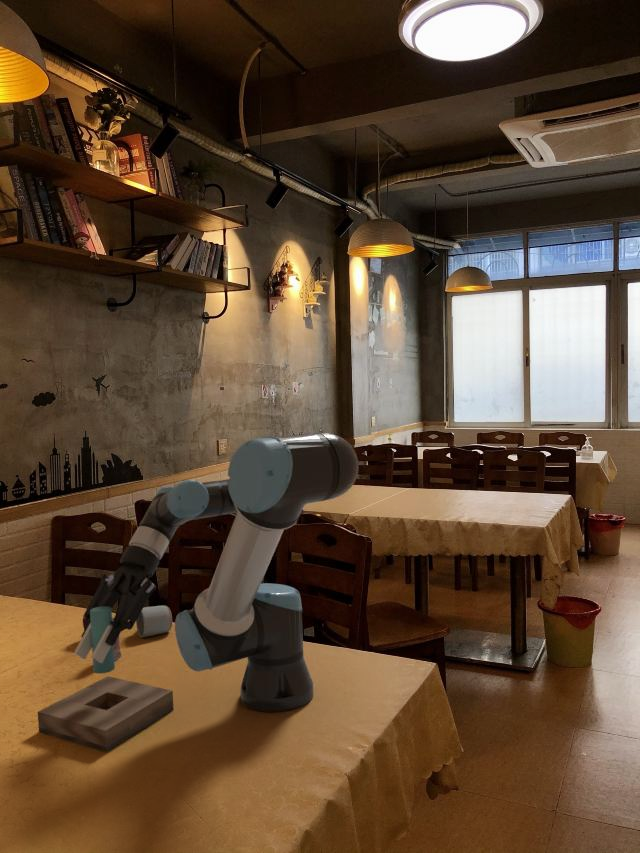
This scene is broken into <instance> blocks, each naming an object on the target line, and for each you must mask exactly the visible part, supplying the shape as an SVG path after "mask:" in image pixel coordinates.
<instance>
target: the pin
mask: <svg viewBox="0 0 640 853" xmlns="http://www.w3.org/2000/svg"><path fill="white" fill-rule="evenodd" d="M112 613H113V612H112V609H111V607H108V606H101V607H96V608H93V609H91V610H90V619H91V636H92V647H91V651H92V652H91V653H92V654H93V652H94V650H95V648H96V647H97V645H98V643H99V641H100V639H101V637H102V635H103V633H104V632H105V630H106V628H107V626H108V625H111V626H112V624H110V621H112V617H113V616H112ZM115 663H116V662H115ZM115 663H114V646H111V647H110V649H109V651H108V653H107V655H106V657H105V659H104V661H103V663H99V662H98V661H96V660H95V659H94V658H92V665H93V666H92V668H93V673H95V674H106V673H111V672H112V671H113V670H115V667H116V666H115V665H116V664H115Z"/></svg>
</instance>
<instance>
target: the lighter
mask: <svg viewBox="0 0 640 853" xmlns="http://www.w3.org/2000/svg"><path fill="white" fill-rule="evenodd" d="M114 618H115V616H112V621H113V620H114ZM112 627H113V625H112ZM113 646H114V662H115V663H116V662H118V661H119V660H120V658H122V652H121V647H120V646H121V645H120V635H119V636H118V638H117V640H116V642H115V644H114V645H113Z"/></svg>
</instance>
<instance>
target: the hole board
mask: <svg viewBox="0 0 640 853" xmlns="http://www.w3.org/2000/svg"><path fill="white" fill-rule="evenodd" d="M173 693H174V692H173V690H172V689H166V688H162V687H158V686H154V685H149V684H145V683H139V682H135V681H131V680H128V679H127V680H126V679H122V678H118V677H113V676H108V675H107V676H106V677H103V678H102V679H99V680H98V681H96V682H94V683H91V684H90V685H88V686H86V687H84V688H81V689H80V690H78V691H76V692H74V693H72V694H70V695H68V696H66V697H64V698H61V699H60V700H58V701H56V702H55V703H52V704H50V705H48V706H46V707H44V708H42V709H40V710H39V711H37V719H38V720H37V721H38V722H37V723H38V725H37V726H38V733H41V734H44V735H48V736H51V737H54V738H58V739H61V740H64V741H68V742H72V743H75V744H78V745H81V746H84V747H88V748H90V749H94V750H97V751H100V752H105V753H108V752H110V751H111V750H113V749H115V748H116V747H118V746H119V745H121V744H122V743H124V742H125V741H128V740H129V739H130V738H132V737H134V736H135V735H137V734H138V733H139V732H142V731H143V730H145V729H146V728H147V727H150V725H152V724H154V723H156V722H157V721H159V720H160V719H162V718H164V717H165V716H167V715H168V714H170V713H171V712H173V711H174V710H175V709H174V696H173V695H174V694H173Z"/></svg>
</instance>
